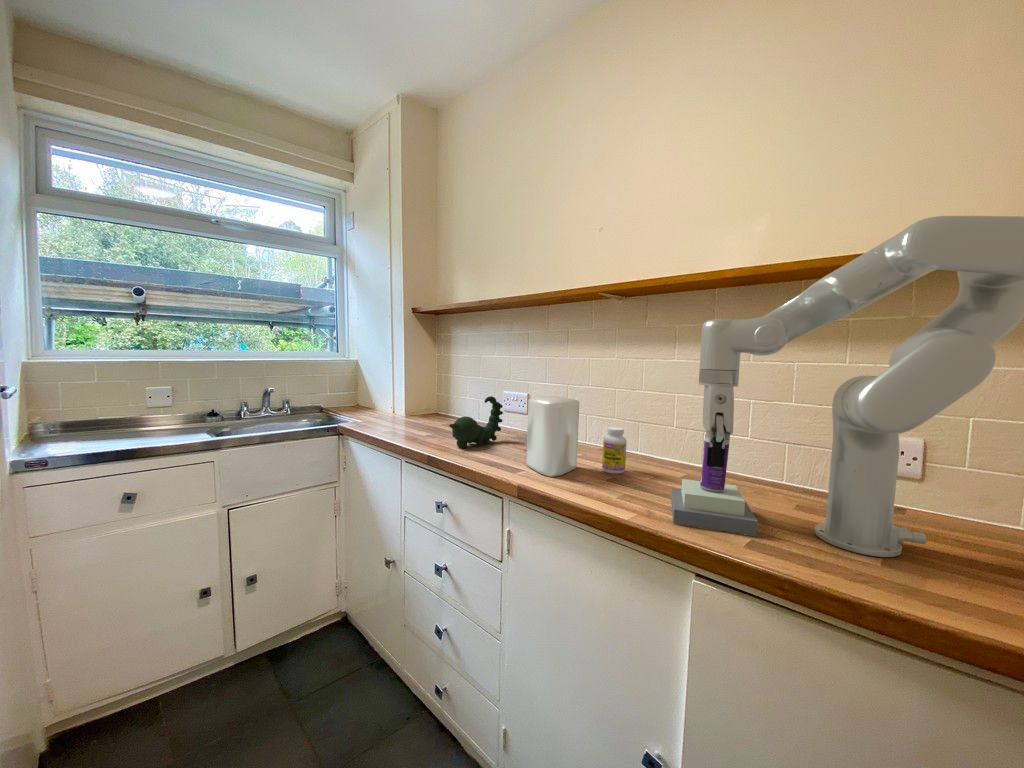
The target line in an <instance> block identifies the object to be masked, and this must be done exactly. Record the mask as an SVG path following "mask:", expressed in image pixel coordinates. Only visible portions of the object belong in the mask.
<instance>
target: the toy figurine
mask: <svg viewBox="0 0 1024 768" xmlns="http://www.w3.org/2000/svg"><path fill="white" fill-rule="evenodd" d="M488 402H489V403H490V404H491V410H490V416H489V417H488V422H487V424H486V425H485V426H482V425H480V424H478V422H477V421H476V420H475V419H474V418H472V417H470V416H462V417H459V418H458V419H456V420H455V421H454V422H453V423H449V425H448V426H449V428H451V432H452V436H451V437H453V438H454V440H456V446H457V447H458V448H460V449H466V448H467V447H468V444H472V443H475V444H476V445H477V446H481V445H482V446H483V444H485V445H486V446H487V445H490V444H491V440H492V441H496V440H497V439H498V438H497V437H498V436H497V435H496V433H497V432H501V431H502V427H500V425H499V423H501V424H502V422H503V419H502V418H500V416H502V415H503V414H504V412H503V411H502V410H501V409H502V408H503V404H501V403H500V402H498V401H497V399H496V397H494V396H492V395H489V396H487V397H486V398H485V400H484V403H485V404H486V403H488Z"/></svg>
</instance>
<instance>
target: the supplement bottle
mask: <svg viewBox="0 0 1024 768" xmlns="http://www.w3.org/2000/svg"><path fill="white" fill-rule="evenodd" d="M606 430H607V431H606V432H607V435H606V436H604V438H603V445H602V462H601V463H602V464H601V469H602V470H603V472H605V473H609V474H614V475H615V474H617V475H618V474H623V473H624V472H625V471H626V459H627V444H628V443H627V439H626V437H624V433H625V432H624V430H625V429H624V428H622V427H618V426H611V427H610V426H609V427H607V429H606Z"/></svg>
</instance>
